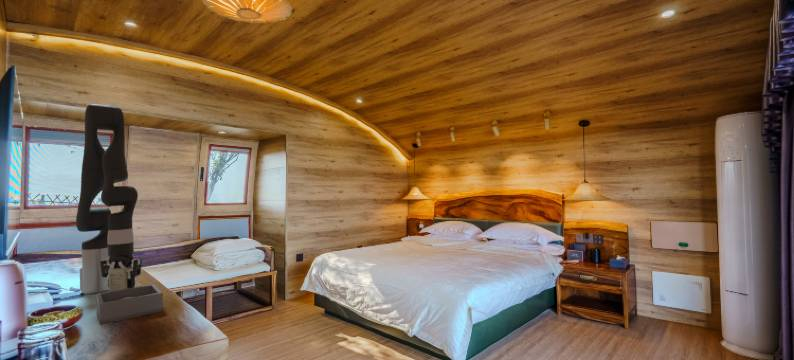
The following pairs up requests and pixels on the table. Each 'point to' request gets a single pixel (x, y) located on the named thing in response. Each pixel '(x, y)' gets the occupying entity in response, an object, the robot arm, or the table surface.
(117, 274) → the skincare box
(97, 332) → the table surface
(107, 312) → the walled box
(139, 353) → the table surface
